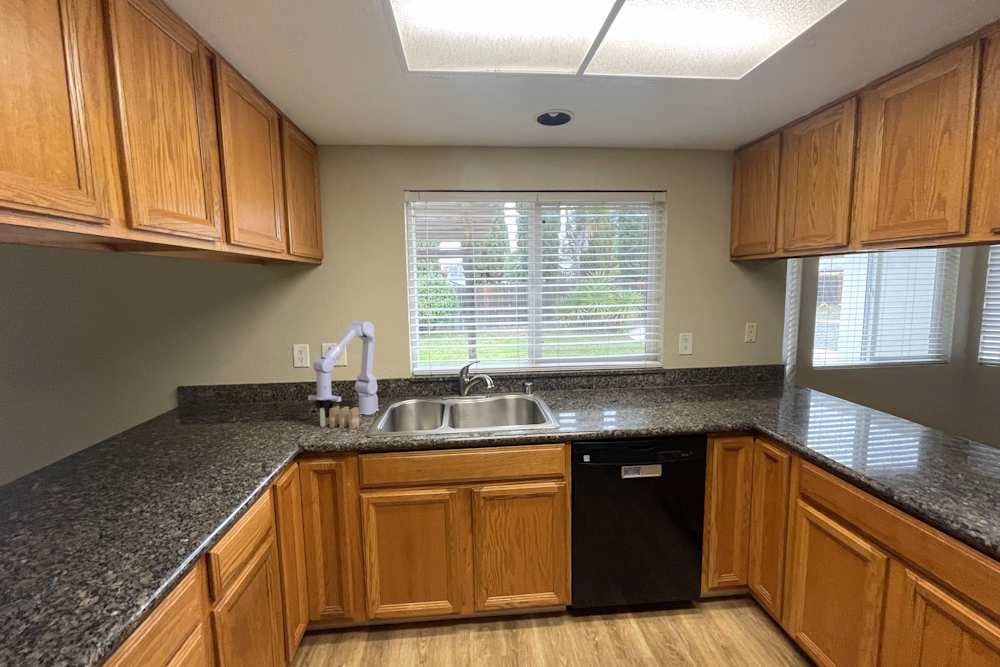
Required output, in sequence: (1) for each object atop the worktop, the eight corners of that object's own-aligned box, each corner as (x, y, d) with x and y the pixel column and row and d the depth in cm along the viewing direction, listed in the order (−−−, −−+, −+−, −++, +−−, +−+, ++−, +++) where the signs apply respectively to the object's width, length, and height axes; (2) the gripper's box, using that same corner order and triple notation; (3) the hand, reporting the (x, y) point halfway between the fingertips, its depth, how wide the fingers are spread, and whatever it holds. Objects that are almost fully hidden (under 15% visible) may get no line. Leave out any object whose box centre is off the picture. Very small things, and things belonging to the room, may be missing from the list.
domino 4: (349, 428, 176) (348, 410, 175) (355, 425, 180) (355, 407, 180) (352, 429, 175) (352, 410, 174) (359, 425, 180) (358, 407, 179)
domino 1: (320, 426, 178) (319, 408, 177) (327, 423, 183) (326, 405, 182) (323, 427, 178) (323, 408, 177) (330, 423, 183) (330, 405, 182)
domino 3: (339, 428, 176) (339, 409, 176) (346, 424, 181) (345, 406, 180) (343, 428, 176) (342, 409, 175) (349, 424, 181) (349, 406, 180)
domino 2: (330, 427, 177) (329, 409, 176) (336, 423, 182) (336, 405, 181) (333, 427, 177) (332, 409, 176) (340, 423, 182) (339, 406, 181)
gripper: (303, 387, 176) (304, 418, 177) (334, 389, 173) (335, 420, 175) (313, 383, 183) (314, 414, 184) (343, 385, 180) (344, 416, 182)
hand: (325, 417), depth 180 cm, fingers closed on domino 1
